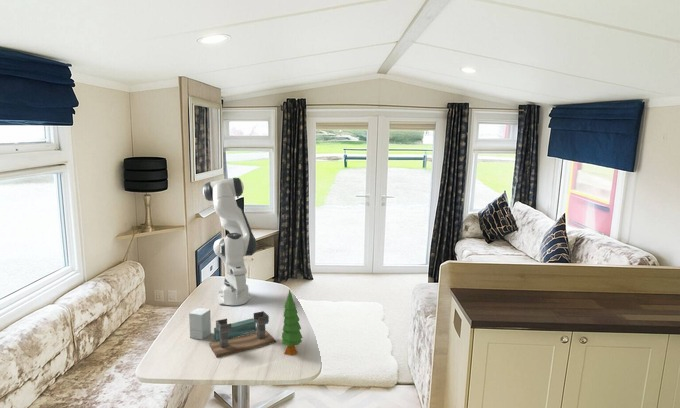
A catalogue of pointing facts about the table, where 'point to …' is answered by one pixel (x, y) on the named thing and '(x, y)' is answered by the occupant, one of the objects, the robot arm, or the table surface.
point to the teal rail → (237, 329)
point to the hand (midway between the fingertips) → (235, 294)
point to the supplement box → (200, 323)
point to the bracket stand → (241, 337)
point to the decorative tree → (291, 327)
